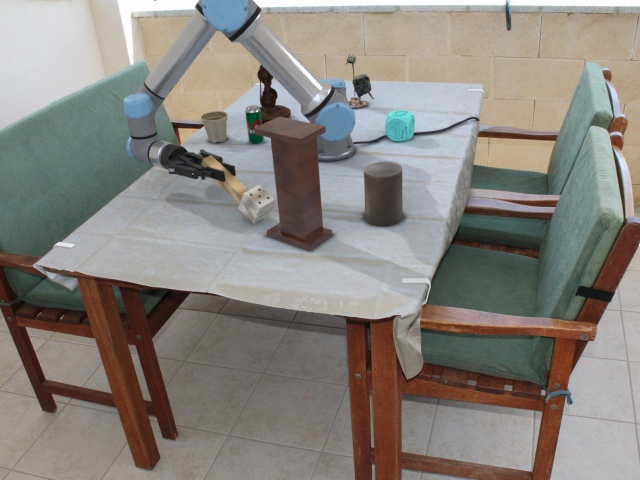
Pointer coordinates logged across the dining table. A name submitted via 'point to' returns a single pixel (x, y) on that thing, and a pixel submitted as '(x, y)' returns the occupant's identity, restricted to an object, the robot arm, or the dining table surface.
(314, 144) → the plant stand
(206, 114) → the flower pot
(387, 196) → the pillar candle
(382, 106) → the dining table surface
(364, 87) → the plant with pod
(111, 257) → the dining table surface
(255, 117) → the soda can
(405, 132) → the decorative dice
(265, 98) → the dark brown sculpture
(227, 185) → the die stick
